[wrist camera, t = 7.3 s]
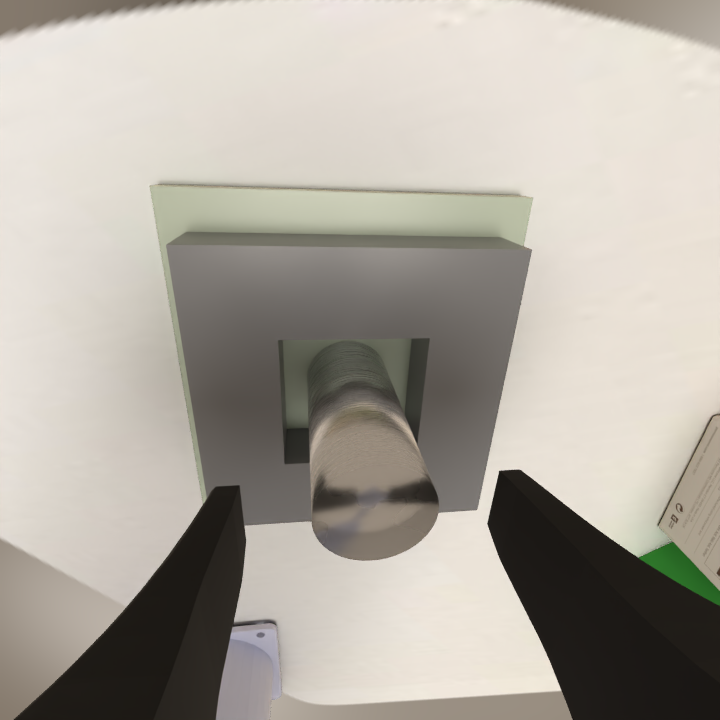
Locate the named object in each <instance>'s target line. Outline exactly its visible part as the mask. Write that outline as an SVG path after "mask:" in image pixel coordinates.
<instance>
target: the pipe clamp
mask: <svg viewBox="0 0 720 720" xmlns="http://www.w3.org/2000/svg"><path fill="white" fill-rule="evenodd" d="M639 559H641V560H642V561H644V562H645V563H647V564H649V565H650V566H652V567H653V568H655V569H657V570H658V571H660V572H662V573H663V574H665V575H666V576H668V577H670V578H671V579H673V580H674V581H676V582H678V583H679V584H681V585H683V586H685V587H686V588H688V589H690V590H692V591H693V592H695V593H697V594H699V595H701V596H702V597H704V598H706V599H708V600H710V601H712V602H713V603H715V604H717V605H719V606H720V591H719V590H718V589H717V587H716V586H715V585H714V584H713V583H712V582H711V581H710V580H709V579H708V578H707V577H706V576H705V575H704V574H703V573H702V572H701V571H700V570H699V568H698V567H697V566H696V565H695V564H694V563H693V562H692V561H691V560H690V559H689V558H688V557H687V556H686V555H685V554H684V553H683V552H682V551H681V549H680V548H679V547H678V546H677V545H676V544H675V543H674V542H671V543H669V544H667V545H665V546H663V547H661V548H658V549H656V550H654V551H652V552H650V553H648V554H645V555H643V556H641V557H639Z"/></svg>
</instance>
